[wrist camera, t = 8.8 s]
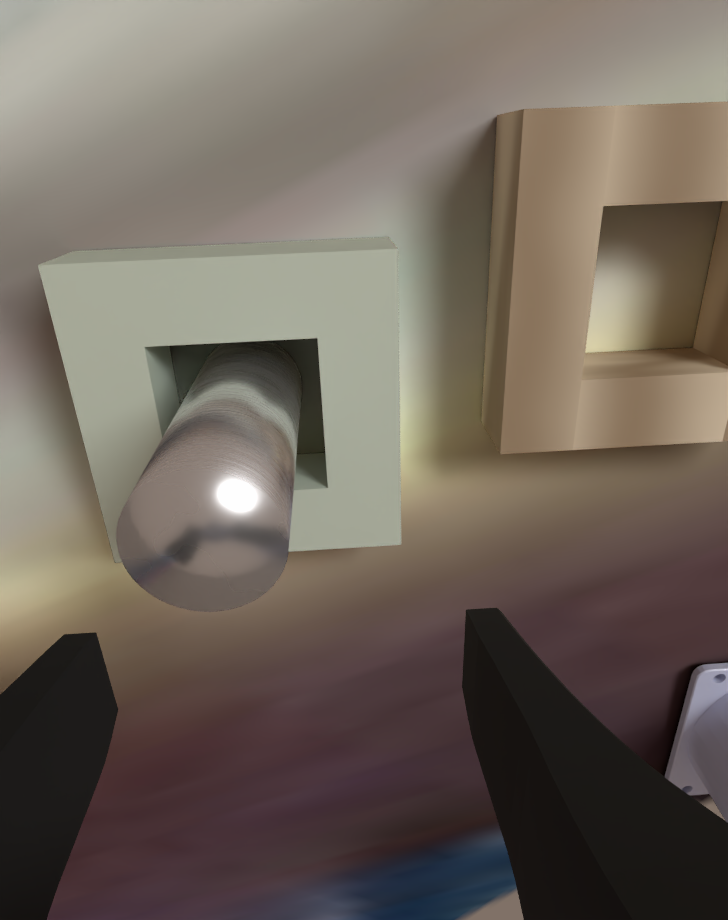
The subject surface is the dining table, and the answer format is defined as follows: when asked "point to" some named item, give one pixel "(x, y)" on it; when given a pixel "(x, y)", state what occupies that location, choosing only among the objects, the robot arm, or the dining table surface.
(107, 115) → the dining table surface
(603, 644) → the dining table surface
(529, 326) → the socket block
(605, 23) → the dining table surface
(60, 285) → the block
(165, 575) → the rod
